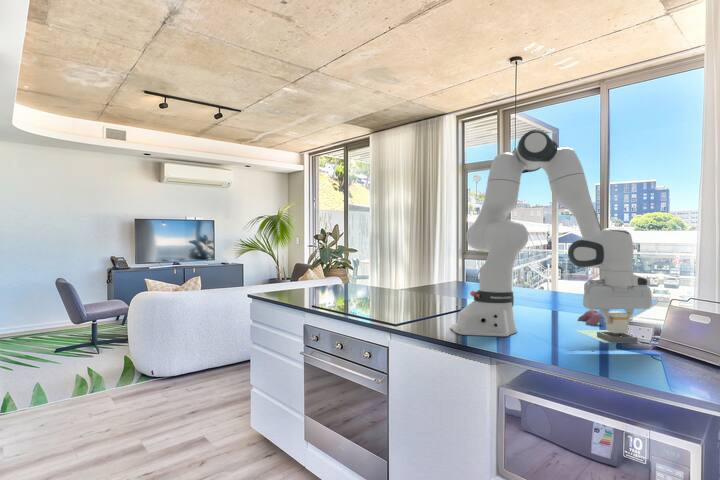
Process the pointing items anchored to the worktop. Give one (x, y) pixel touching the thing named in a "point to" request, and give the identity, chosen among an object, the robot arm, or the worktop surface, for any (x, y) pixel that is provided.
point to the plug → (618, 322)
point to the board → (609, 336)
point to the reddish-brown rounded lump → (591, 317)
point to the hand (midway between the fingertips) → (617, 323)
